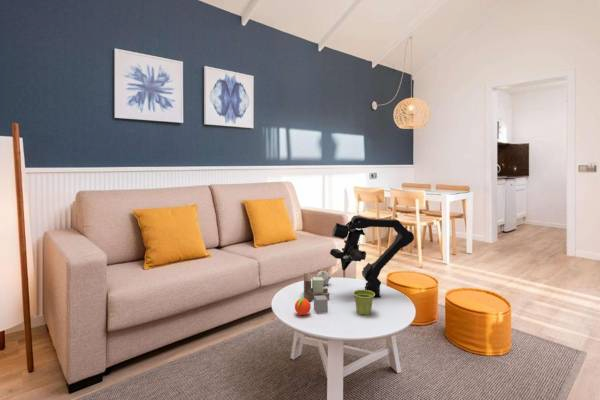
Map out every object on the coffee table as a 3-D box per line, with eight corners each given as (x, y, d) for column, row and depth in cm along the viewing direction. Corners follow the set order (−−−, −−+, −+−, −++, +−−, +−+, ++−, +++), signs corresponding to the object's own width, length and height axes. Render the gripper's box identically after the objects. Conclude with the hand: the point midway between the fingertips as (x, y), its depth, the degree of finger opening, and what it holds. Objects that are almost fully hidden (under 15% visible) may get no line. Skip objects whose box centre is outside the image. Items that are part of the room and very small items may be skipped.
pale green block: (322, 294, 180) (322, 277, 179) (323, 298, 175) (323, 280, 174) (312, 294, 180) (312, 277, 179) (312, 298, 175) (313, 280, 174)
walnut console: (327, 292, 183) (327, 273, 182) (329, 301, 171) (329, 281, 170) (303, 292, 183) (303, 273, 182) (304, 301, 171) (304, 281, 170)
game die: (325, 290, 197) (335, 275, 198) (324, 290, 189) (335, 274, 190) (311, 281, 199) (321, 265, 200) (310, 280, 191) (320, 264, 192)
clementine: (305, 320, 151) (305, 303, 150) (290, 316, 154) (290, 300, 153) (313, 313, 158) (313, 297, 157) (299, 310, 161) (299, 294, 160)
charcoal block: (324, 308, 164) (324, 295, 163) (327, 312, 159) (327, 299, 158) (313, 308, 163) (313, 296, 162) (316, 313, 158) (316, 300, 157)
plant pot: (361, 318, 153) (361, 298, 152) (348, 310, 161) (348, 291, 160) (378, 314, 157) (379, 295, 156) (365, 306, 166) (365, 288, 165)
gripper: (347, 246, 165) (337, 277, 168) (377, 248, 175) (367, 278, 178) (333, 237, 174) (324, 266, 177) (362, 239, 184) (354, 267, 187)
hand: (343, 270), depth 179 cm, fingers closed
